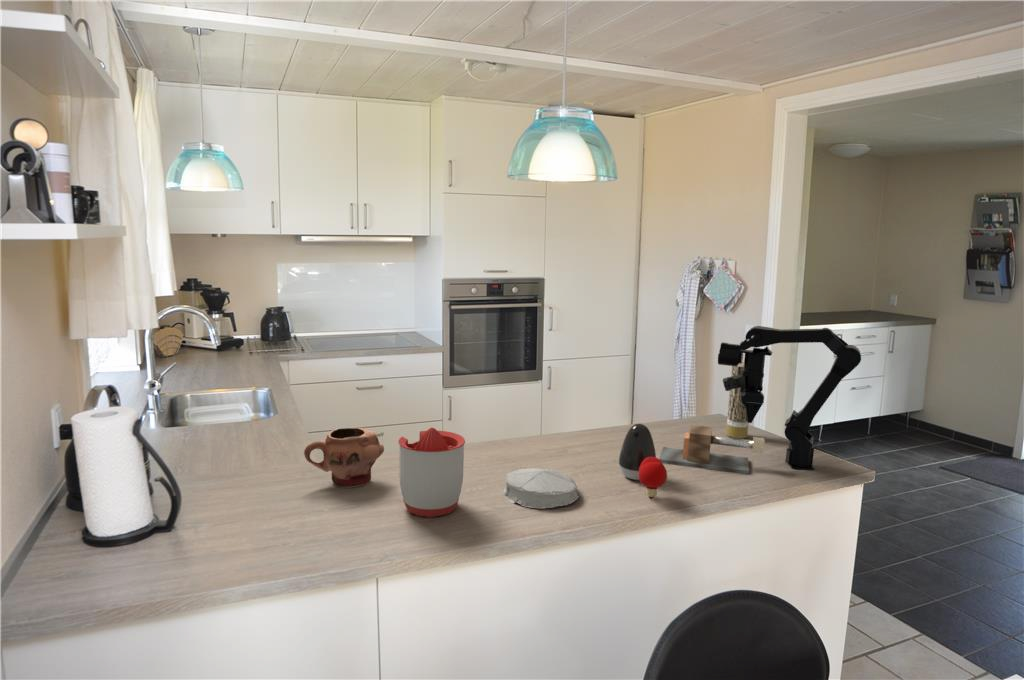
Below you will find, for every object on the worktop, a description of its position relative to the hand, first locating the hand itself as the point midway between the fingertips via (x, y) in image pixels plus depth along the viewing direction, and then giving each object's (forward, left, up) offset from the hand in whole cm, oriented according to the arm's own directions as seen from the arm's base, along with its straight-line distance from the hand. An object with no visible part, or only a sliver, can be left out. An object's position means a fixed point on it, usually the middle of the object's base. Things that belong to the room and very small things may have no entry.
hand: (749, 418), depth 202 cm
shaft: (+7, +8, -7) cm, 13 cm away
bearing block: (+14, +6, -12) cm, 20 cm away
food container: (+62, +37, -13) cm, 73 cm away
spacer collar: (+19, +5, -11) cm, 23 cm away
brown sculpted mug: (+113, +37, -12) cm, 120 cm away
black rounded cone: (+36, +22, -12) cm, 44 cm away
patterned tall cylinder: (-3, -21, -12) cm, 25 cm away
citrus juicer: (+89, +49, -12) cm, 102 cm away
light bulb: (+34, +36, -12) cm, 51 cm away
